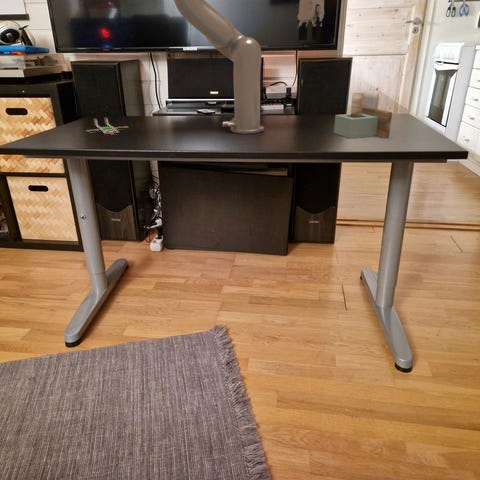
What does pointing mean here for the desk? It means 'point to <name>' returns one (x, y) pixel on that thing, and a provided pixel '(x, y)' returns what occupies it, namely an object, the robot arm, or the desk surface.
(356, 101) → the dowel
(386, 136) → the board
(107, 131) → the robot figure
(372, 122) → the block
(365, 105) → the photo printer
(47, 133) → the desk surface
